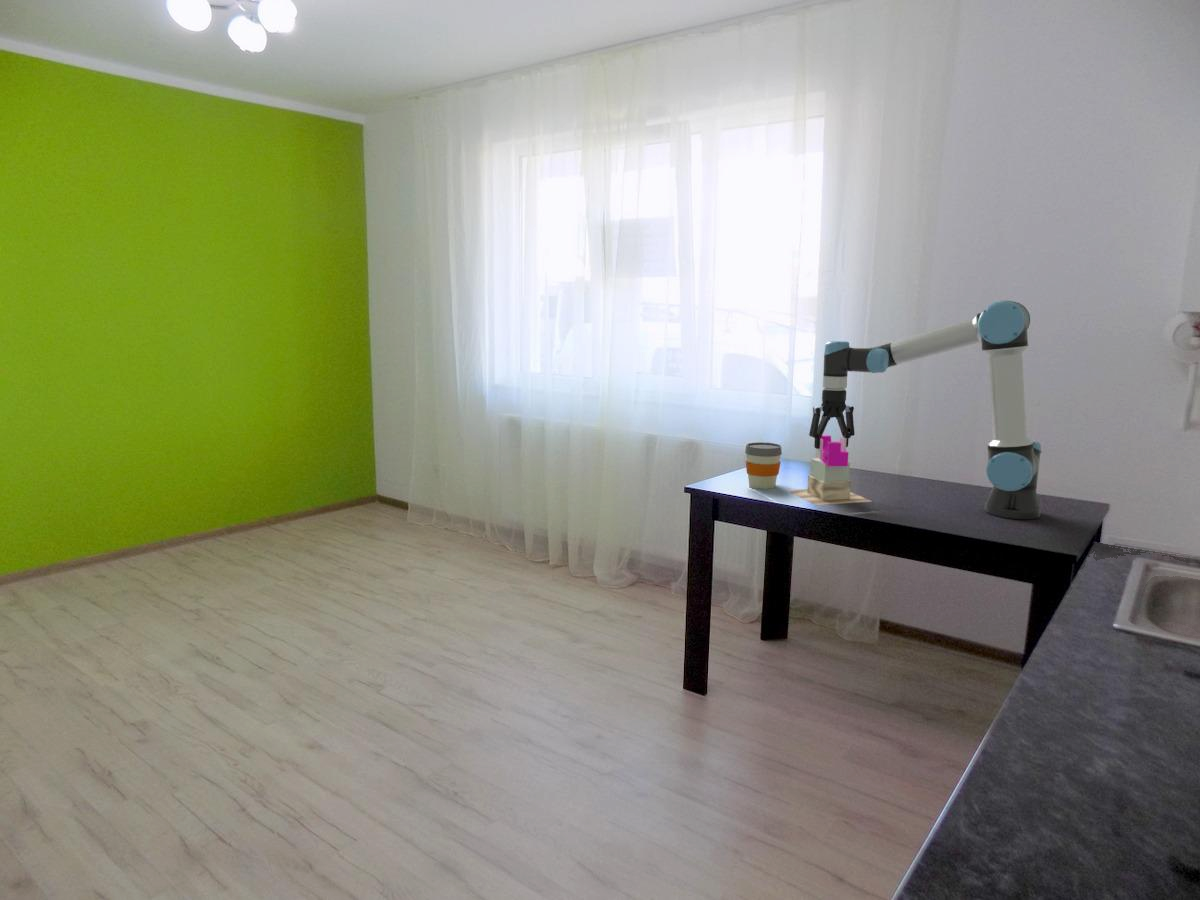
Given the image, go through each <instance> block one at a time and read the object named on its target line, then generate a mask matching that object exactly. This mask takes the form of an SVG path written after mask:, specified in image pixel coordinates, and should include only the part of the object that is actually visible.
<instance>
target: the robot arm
mask: <svg viewBox="0 0 1200 900" xmlns="http://www.w3.org/2000/svg"><path fill="white" fill-rule="evenodd" d="M1030 314H1031V313H1030V312H1029V310H1028V309H1027V308H1026V306H1024V305H1023V304H1021V303H1020V302H1016V301H1012V300H999V301H995V302H993V303H990V304H989V305H988V306H986V307H985V308H984V309H983V311H982V312H980V313H976V314H975V316H974V318H971V319H967V320H964V321H961V322H960V321H959V322H957V323H954V324H950V325H946V326H944V327H940V328H937V329H936V328H935V329H934V330H930V331H926V332H923V333H920V334H916V335H912V336H909V337H906V338H902V339H900V340H895V341H893V342H889V343H885V344H883V345H879V346H875V347H869V348H862V347H860V348H859V347H858V348H857V347H850V342H849V341H846V340H845V341H843V340H841V341H840V340H833V341H832V340H830V341H827V342H826V343H825V346H824V355H823V372H822V373H823V376H822V388H823V389H822V391H821V392H822V393H821V402H822V403H821V405H820V406H812V412H813V414H812V419H811V424H810V429H809V434H808V435H809V437H811V438H813V439H814V445H813V446H814V448H815V458H819V459H822V451H823V439H821V437H822V435H824V432H825V430H826V427H827V425H828V423H829V421H830V420H831V419H832V418H835V419H836V421H837V424H838V426H839V427H838V428H839V429H840V432H841V436H839V442H840V443H841V450H846V451H847V448H848V447H849V439H851V437H852V436H855V426H854V425H855V424H854V410H855V407H854V406H853V405H847V404H846V401H847V390H846V389H847V388H848V372H851V373H852V372H855V373H856V372H857V373H871V374H877V373H880V374H881V373H882V374H883V373H885V372H886V371H887V369H888V368H891V367H895V366H897V365H901V364H905V363H909V362H912V361H916V360H919V359H920V360H921V359H923V358H927V357H930V356H934V355H937V354H942V353H945V352H949V351H953V350H956V349H960V348H964V347H968V346H971V345H976V344H979V343H981V352H982V353H984V355H986V356H987V358H988V359H987V360H988V377H989V390H990V391H989V393H990V411H991V412H990V413H991V414H990V415H991V428H992V431H991V432H992V439H991V440H989V442H988V443H987V464H986V467H985V470H986V471H985V473H986V476H987V479H988V481H989V482H990V483H991V484H992V485H993V486H992V489H991V491H990V493H989V496H988V499H987V500H986V501H985V504H984V511H985V512H986V513H988V514H991V515H993V516H996V517H1000V518H1005V519H1006V518H1007V519H1015V520H1034V519H1035V520H1036V519H1038V518H1040V517H1041V511H1042V510H1041V506H1040V503H1039V501H1040V500H1039V497H1038V493H1037V488H1038V487H1037V486H1038V477H1039V469H1040V459H1041V454H1042V444H1041V442H1039V441H1034V440H1033V441H1032V440H1031V439H1030V438H1029V437H1028V436H1027V421H1026V420H1027V419H1026V401H1025V383H1024V382H1025V381H1024V365H1023V364H1024V363H1023V362H1024V361H1023V353H1024V352H1025V350H1026V349H1027V348H1028V347H1029V343H1028V341H1029V339H1028V337H1029V336H1028V329H1029V327H1030V324H1031V315H1030ZM844 412H845V416H844ZM821 415H822V416H821ZM820 418H821V419H820Z"/></svg>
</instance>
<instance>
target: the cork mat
mask: <svg viewBox="0 0 1200 900" xmlns="http://www.w3.org/2000/svg"><path fill="white" fill-rule="evenodd" d="M807 490H808V488H806V489H805V488H804V489H789V490H788V489H787V490H786V491H787V492H789V493H791V494H793V495H795V496H797V497H799V498H801V499H803V500H805V501H807V502H810V503H811V504H813V505H815V506H822V505H824V506H825V505H839V504H840V505H841V504H853V503H856V504H857V503H869V502H870V503H871V502H872V500H870V499H867V498H865V497H863V496H862V495H861V496H860V495H858V494H856V493H853V492H851V491H850V498H849V499H834V500H821V499H819V498H817V497H815V496H813V495H810V494H808V493H807Z"/></svg>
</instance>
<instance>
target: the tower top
mask: <svg viewBox="0 0 1200 900" xmlns="http://www.w3.org/2000/svg"><path fill="white" fill-rule="evenodd" d="M810 460H811V461H810V475H809V476H811V477H814V478H816V479H818V480H821V481H823V482H833V481H849V480H850V470H851V462H849V461H848V466H827V465H826V464H825V463H824V462H823V461H821V460H820V459H819V458H816V457H814V458H811V459H810Z"/></svg>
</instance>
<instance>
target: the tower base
mask: <svg viewBox="0 0 1200 900" xmlns="http://www.w3.org/2000/svg"><path fill="white" fill-rule="evenodd" d="M851 486H852V480H850V479H849V481H833V482H823V481H821V480H818V479H816V478H814V477H811V476H810V475H808V476H807V489H808V490H807V493H808V494H810V495H813V496H815V497H817V498H819V499H821V500H834V499H849V498H850V492H851V489H852V487H851Z"/></svg>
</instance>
